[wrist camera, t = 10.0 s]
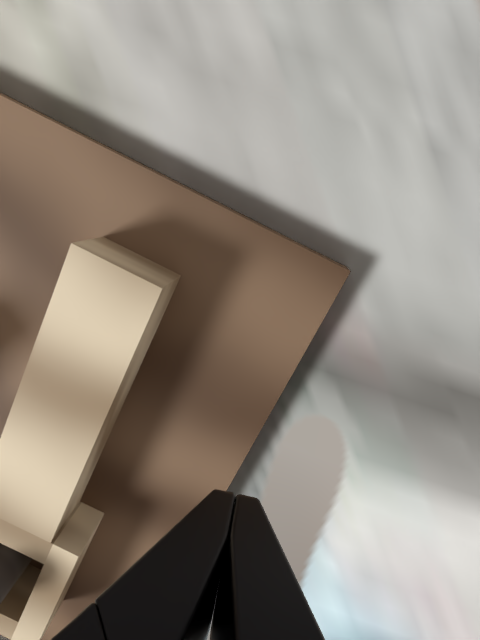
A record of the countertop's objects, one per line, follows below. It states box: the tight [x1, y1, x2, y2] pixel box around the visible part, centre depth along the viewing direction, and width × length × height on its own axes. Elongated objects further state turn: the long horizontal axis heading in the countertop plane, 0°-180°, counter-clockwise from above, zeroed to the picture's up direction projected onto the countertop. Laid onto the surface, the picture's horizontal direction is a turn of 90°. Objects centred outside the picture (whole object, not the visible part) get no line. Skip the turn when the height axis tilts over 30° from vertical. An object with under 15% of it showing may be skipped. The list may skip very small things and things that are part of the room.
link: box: [0, 237, 181, 640], centre depth 18 cm, size 17×6×2 cm, turn 154°
